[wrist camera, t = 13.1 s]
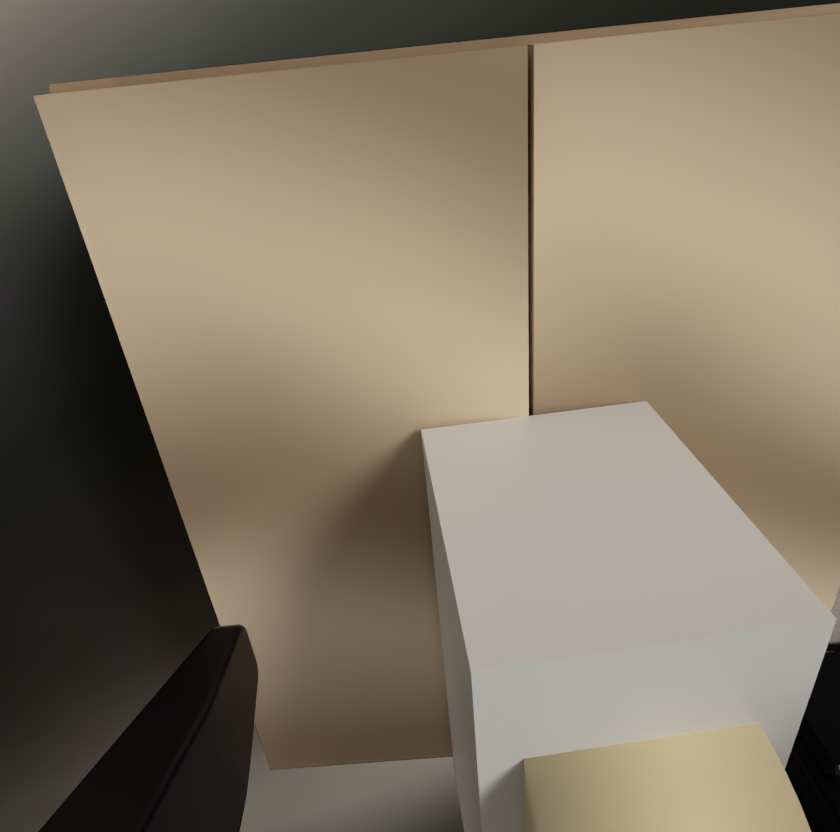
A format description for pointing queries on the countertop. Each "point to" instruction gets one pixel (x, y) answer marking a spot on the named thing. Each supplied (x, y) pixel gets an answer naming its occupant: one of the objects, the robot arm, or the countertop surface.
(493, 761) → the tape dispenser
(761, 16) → the cardboard box
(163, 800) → the robot arm
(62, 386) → the countertop surface
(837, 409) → the flap
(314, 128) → the flap
